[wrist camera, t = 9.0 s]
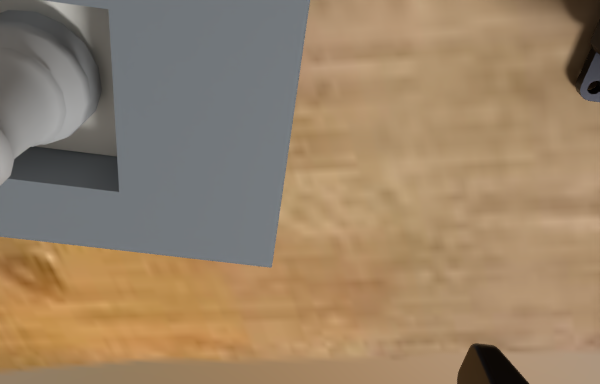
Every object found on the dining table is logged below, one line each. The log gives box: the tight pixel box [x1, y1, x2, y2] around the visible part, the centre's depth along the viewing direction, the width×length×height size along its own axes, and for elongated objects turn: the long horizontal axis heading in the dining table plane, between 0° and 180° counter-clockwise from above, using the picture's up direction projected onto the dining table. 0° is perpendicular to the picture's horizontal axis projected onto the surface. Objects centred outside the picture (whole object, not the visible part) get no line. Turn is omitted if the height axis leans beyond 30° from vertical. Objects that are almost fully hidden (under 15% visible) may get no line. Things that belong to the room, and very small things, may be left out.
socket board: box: [0, 0, 310, 268], centre depth 19 cm, size 18×12×2 cm, turn 82°
